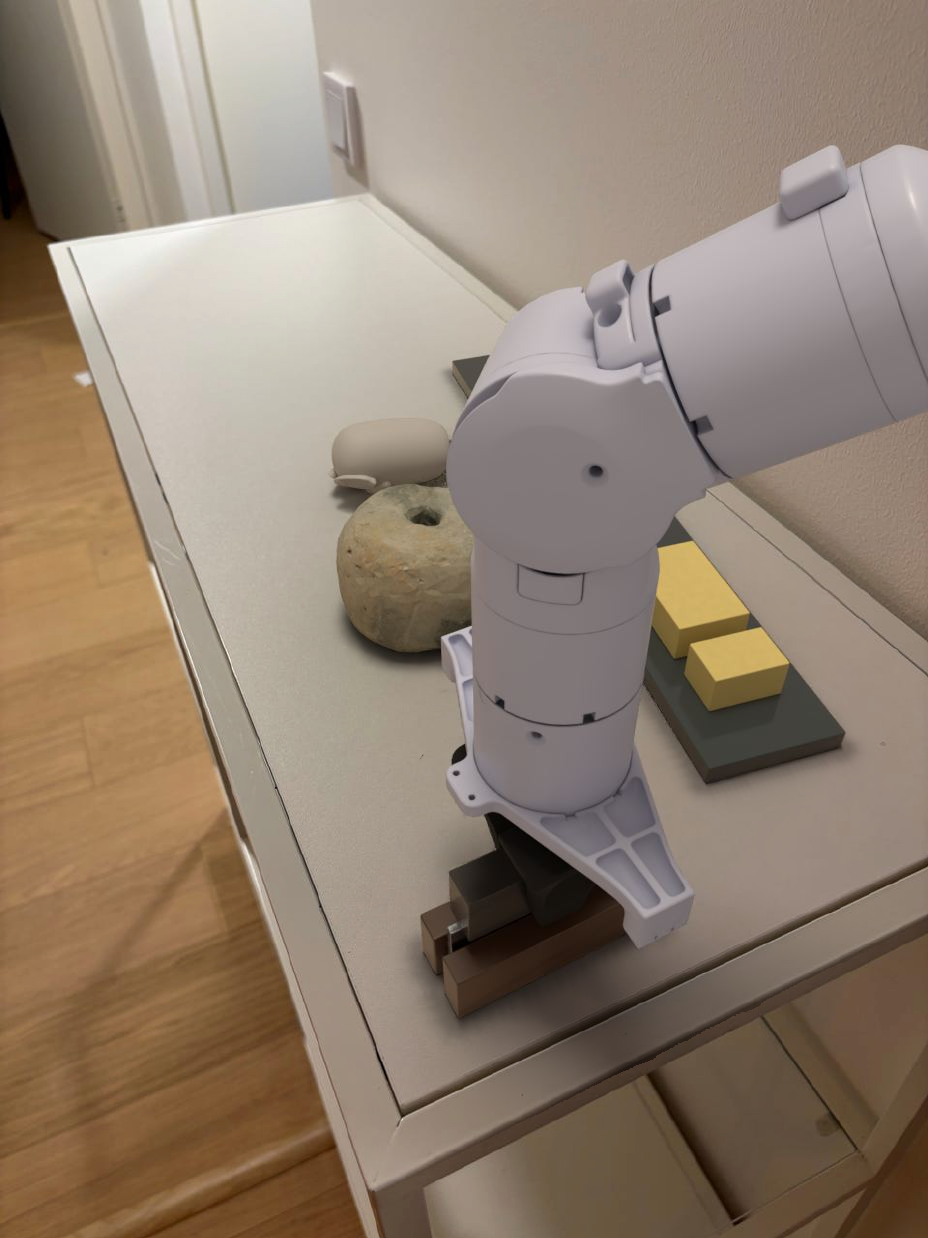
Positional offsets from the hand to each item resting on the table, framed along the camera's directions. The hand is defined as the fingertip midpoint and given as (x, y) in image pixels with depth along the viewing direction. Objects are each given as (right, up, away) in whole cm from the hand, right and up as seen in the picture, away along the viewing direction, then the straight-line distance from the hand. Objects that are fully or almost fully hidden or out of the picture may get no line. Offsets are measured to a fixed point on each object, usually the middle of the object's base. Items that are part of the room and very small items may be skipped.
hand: (542, 888), depth 42 cm
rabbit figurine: (-7, +22, +30) cm, 38 cm away
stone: (-6, +12, +19) cm, 23 cm away
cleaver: (0, -3, +3) cm, 4 cm away
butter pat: (+11, +8, +12) cm, 19 cm away
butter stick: (+10, +12, +17) cm, 23 cm away
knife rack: (0, -3, +3) cm, 4 cm away
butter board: (+6, +19, +26) cm, 33 cm away
